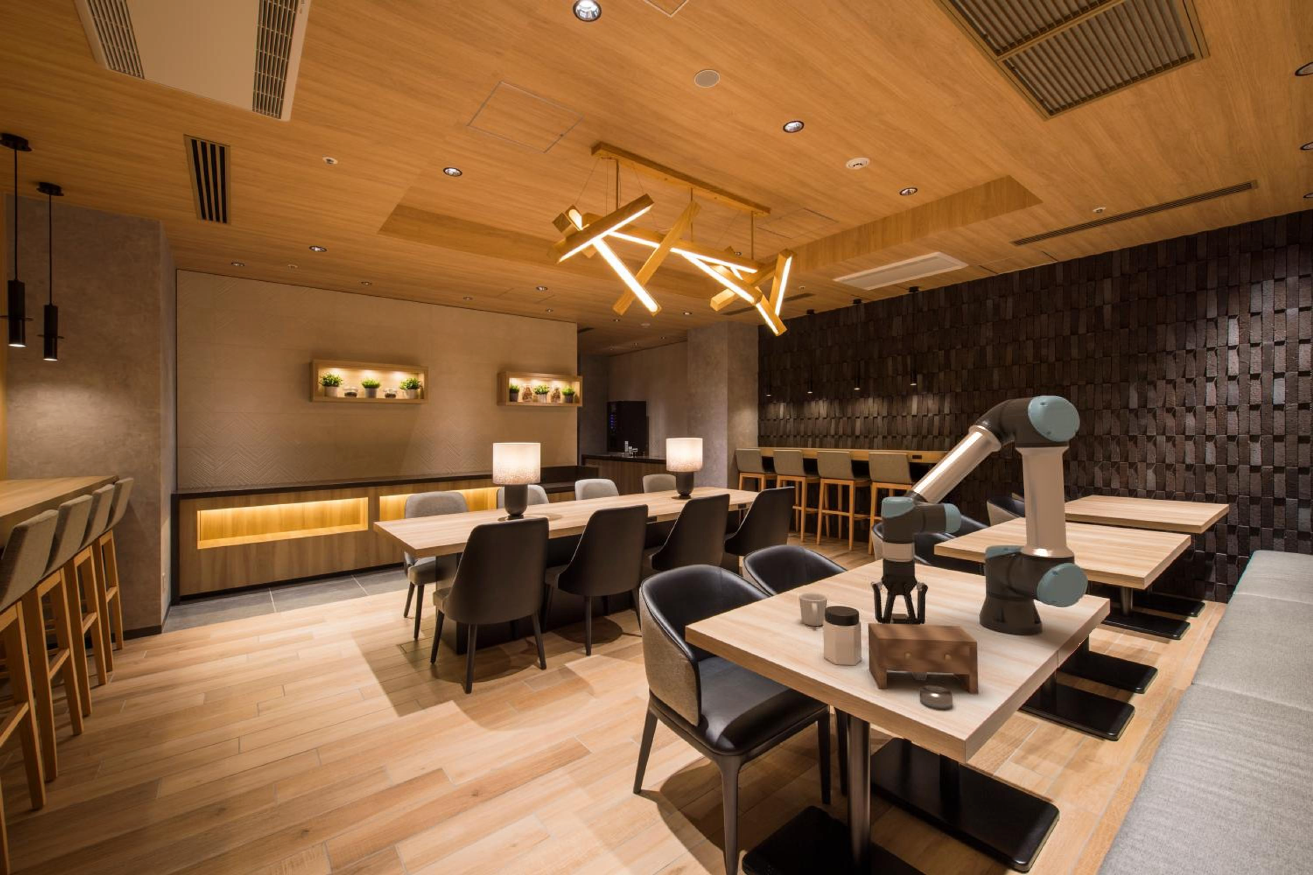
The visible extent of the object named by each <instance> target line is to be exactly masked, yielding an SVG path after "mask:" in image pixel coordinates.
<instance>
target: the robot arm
mask: <svg viewBox="0 0 1313 875" xmlns="http://www.w3.org/2000/svg"><path fill="white" fill-rule="evenodd" d="M1080 423H1081V422H1080V416H1079V413H1078V410H1077V408H1076V407H1075V405H1074V404H1072V403H1071V402H1070V401H1069V400H1067V399H1066V398H1064V397H1061V396H1058V395H1057V396H1056V395H1040V396H1033V397H1032V396H1031V397H1023V398H1012V399H1008V400H1005V401H1003V402H1000V403H998V404H997V405H995V406H994V407H991V409H989V410H988V411H987V412H986V413H984V414H983V415H982V416H980V417H979V419H977V420H976V421H975V422H974V423H973V424H972V425H971V426H970V427H969V428H968V433H967V435H966V436H965V437H964V438H963V439H961V441H960V442H958V443H957V445H955V446H954V447H953V448H952V449H951V450H950V451H949V452H948V453H947V454H946V455H945V456H944V457H942V459H941V460H939V461H938V462H937V463H936V465H935V466H933V467H932V468H931V469H930V470H929V471H928V472H927V473H926V474H925V475H924V476H923V477H922V478H921V479H920V480H919V481H918V482H916V483H915V484H914V485H913V486H912V487H911V488H910V489H909V490H908V491H907V492H905V493H904V495H902V496H888V497H884V498H883V499H882V501H881V512H880V516H881V541H882V542H881V543H882V544H881V545H882V548H881V549H882V557H884V558H882V576H881V577H880V578H881V579H880V580H877V581H871V582H870V586H871V588H872V590H873V602H874V605H873V606H874V617H875V620H876V621H877V623H881V624H891V623H890V621H891V616H892V613H893V610H894V605H895V601H896V597H898V596H902V597H903V599H904V603H905V607H906V610H907V611H906V612H907V616H908V617H909V618H910V622H911V625H925V623H926V594H927V592H928V589H929V586H928V585H927V584H926V583H924V582H920V581H918V580H917V578H916V563H915V560H914V558H915V556H916V555H915V554H916V552H915V535H932V534H937V535H938V534H943V535H945V534H950V533H953V534H954V533H956V532H958V531H959V529H960V527H961V524H962V515H961V514H962V513H961V512H960V510H959V509H958V507H957V506H956V505H954V504H953V503H944V502H940V501H941V500H943V498H944V497H945V496H946V495H948V493H950V492H951V491H952V490H953V489H954V488H955V487H956V486H957V485H958V484H959V483H960V482H961V481H963V480H964V478H965V477H967V476H968V475H969V474H970V473H971V472H972V471H973V470H974V469H975V468H976V467H977V466H978V465H980V463H981V462H982V461H984V460H985V458H987V457H988V456H989V455H990V454H991V453H992V452H998V451H1000V450H1001V449H1003V447H1004V446H1006V445H1007V444H1009V443H1012V442H1014V446H1015V448H1014V449H1015V450H1016V451H1017V452H1018V453H1020V454H1021V455H1022V456H1021V457H1022V472H1023V475H1022V476H1023V489H1024V492H1023V493H1024V494H1023V495H1024V514H1025V515H1024V516H1025V530H1026V532H1025V534H1026V544H1025V545H1018V544H1017V545H1014V544H1013V545H1012V544H1010V545H1009V544H1005V545H1004V544H1003V545H1000V544H999V545H990V546H988V547H986V548H985V554H984V572H985V573H984V574H985V575H984V576H985V598H984V601H983V603H982V607H981V610H980V611H979V615H978V616H979V624H980V625H982V626H983V627H985V628H987V629H989V630H993V631H996V632H999V633H1005V634H1011V635H1021V636H1023V635H1024V636H1028V635H1029V636H1031V635H1037V634H1041V633H1042V632H1043V622H1042V620H1041V616H1040V614H1039V611H1038V609H1037V606H1036V603H1035V601H1038V602H1040V603H1042V604H1043V605H1047V606H1052V607H1055V608H1068V607H1071V606H1074V605H1076V604H1077V603H1078V602H1079V601H1080V599H1082V598H1083V597H1084V596H1085V594H1086V592H1087V588H1088V583H1089V582H1088V576H1087V573H1086V572H1085V571H1084V570H1083V568H1082V567H1080V566H1079V565H1078V564H1076V560H1075V552H1074V551H1072V549H1070V548H1069V547H1068V545H1067V525H1066V524H1067V523H1066V506H1065V505H1066V504H1065V487H1064V467H1063V466H1064V464H1063V454H1064V453H1065V451H1067V450H1068V449H1069V448H1070V439H1072V438H1074V437H1075V436H1076V433H1077V432H1079V429H1080ZM939 502H940V503H939ZM883 586H884V587H885V589H886V590H887V592H886V600H885V605H884V606H885V607H884V611H883V609H882V608H883V607H882V593H881V591H882V589H883V588H882V587H883ZM915 588H916V590H917V594H916V595H917V601H916V604H917V605H916V608H917V609H916V612H915V608H914V604H913V603H914V602H913V598H912V592H913V590H914V589H915Z"/></svg>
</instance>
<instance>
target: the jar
mask: <svg viewBox="0 0 1313 875" xmlns="http://www.w3.org/2000/svg"><path fill="white" fill-rule="evenodd" d="M822 626H823V628H822V630H823V632H822V634H823V658H824V659H825V660H827V661H830V662H831V663H832V664H834V665H839V666H842V665H843V666H856V665H857V664H858V663H860V662H861V661H862V659H863V658H862V622H861V621H860V612H859V610H858V609H856V608H853V607H852V606H851V607H850V606H844V605H833V606H832V605H831V606H828V607H826V609H825V620H823V625H822Z"/></svg>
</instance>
